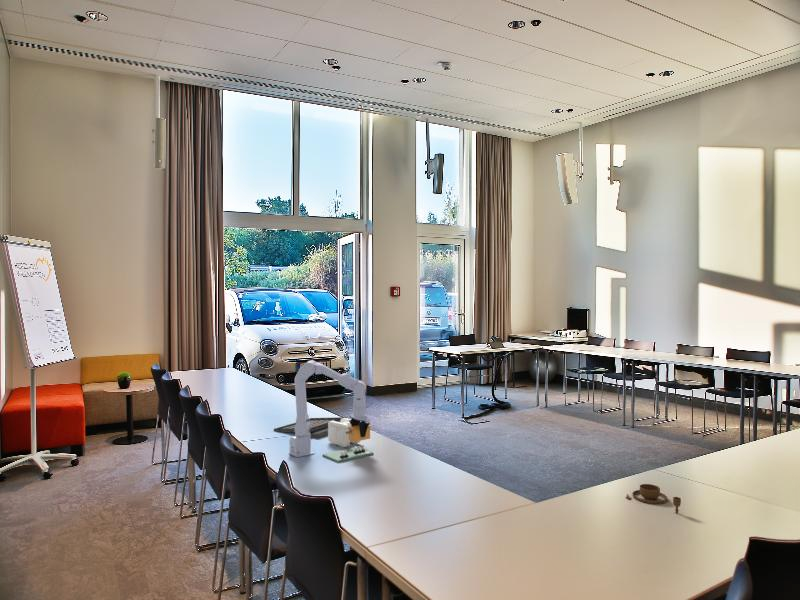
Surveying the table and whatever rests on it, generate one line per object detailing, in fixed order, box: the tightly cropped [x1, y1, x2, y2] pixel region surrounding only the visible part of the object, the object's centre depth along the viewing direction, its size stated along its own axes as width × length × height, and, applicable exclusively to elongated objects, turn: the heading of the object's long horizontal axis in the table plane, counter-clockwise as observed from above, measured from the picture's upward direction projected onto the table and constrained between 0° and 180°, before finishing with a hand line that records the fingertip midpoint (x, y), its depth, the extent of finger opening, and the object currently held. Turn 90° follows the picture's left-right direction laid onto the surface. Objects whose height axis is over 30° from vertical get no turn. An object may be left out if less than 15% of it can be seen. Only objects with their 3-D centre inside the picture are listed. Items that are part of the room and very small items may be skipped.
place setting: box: [625, 483, 682, 515], centre depth 206 cm, size 18×20×6 cm
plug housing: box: [346, 425, 371, 442], centre depth 265 cm, size 12×5×6 cm, turn 130°
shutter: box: [273, 416, 347, 440], centre depth 316 cm, size 32×7×31 cm
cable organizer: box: [327, 417, 361, 448], centre depth 285 cm, size 15×11×12 cm
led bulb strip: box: [354, 444, 366, 454], centre depth 266 cm, size 6×1×3 cm, turn 130°
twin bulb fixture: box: [340, 450, 349, 458], centre depth 258 cm, size 4×1×3 cm, turn 130°
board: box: [322, 446, 374, 463], centre depth 264 cm, size 20×13×1 cm, turn 130°
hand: (359, 435), depth 266 cm, fingers closed on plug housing, 5 cm apart
